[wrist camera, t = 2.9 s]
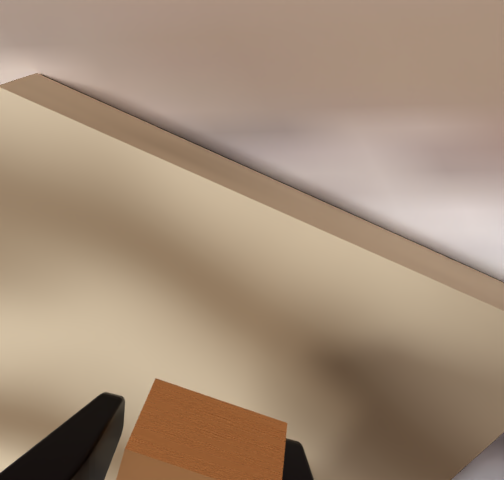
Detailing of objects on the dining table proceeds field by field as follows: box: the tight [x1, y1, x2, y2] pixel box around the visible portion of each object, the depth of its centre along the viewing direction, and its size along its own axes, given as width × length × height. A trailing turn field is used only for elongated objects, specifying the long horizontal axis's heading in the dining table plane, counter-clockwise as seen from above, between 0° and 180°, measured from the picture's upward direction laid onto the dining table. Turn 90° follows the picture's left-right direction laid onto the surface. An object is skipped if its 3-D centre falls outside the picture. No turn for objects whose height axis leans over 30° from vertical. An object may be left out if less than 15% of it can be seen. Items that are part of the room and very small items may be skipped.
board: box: [0, 73, 504, 480], centre depth 16 cm, size 22×14×2 cm, turn 158°
